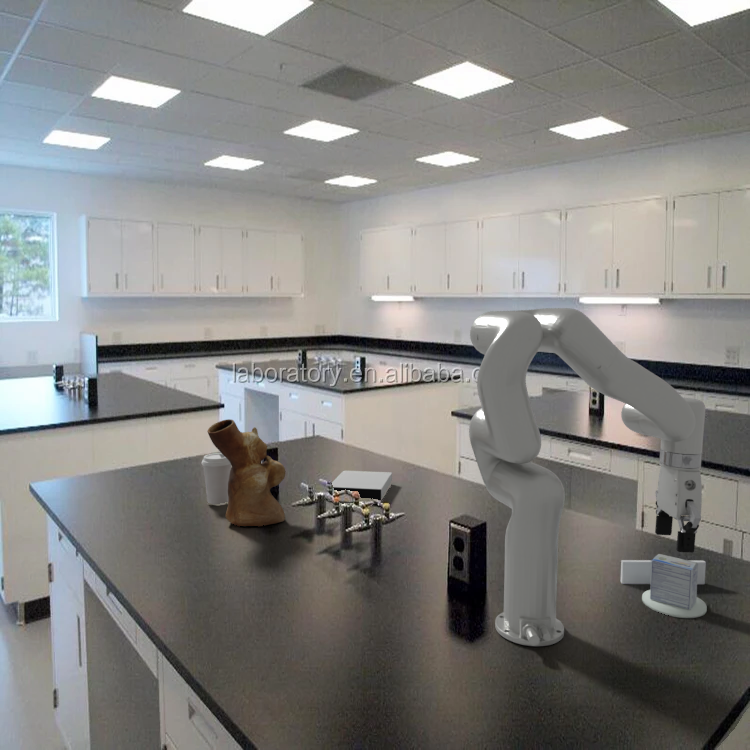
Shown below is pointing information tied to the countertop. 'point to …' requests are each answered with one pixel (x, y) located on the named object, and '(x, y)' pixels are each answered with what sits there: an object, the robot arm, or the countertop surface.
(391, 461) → the countertop surface
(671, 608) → the pad
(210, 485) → the coffee cup
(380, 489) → the disc drive
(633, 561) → the acrylic wall
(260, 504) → the ceramic vessel
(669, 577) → the medicine box
